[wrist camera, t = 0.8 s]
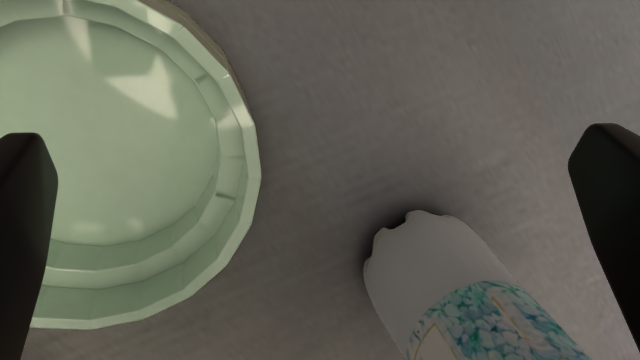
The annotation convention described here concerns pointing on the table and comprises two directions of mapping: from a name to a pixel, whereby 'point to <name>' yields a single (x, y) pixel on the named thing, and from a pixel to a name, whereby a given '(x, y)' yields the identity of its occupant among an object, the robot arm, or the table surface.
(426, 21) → the table surface
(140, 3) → the bowl
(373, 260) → the bottle
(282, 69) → the table surface
